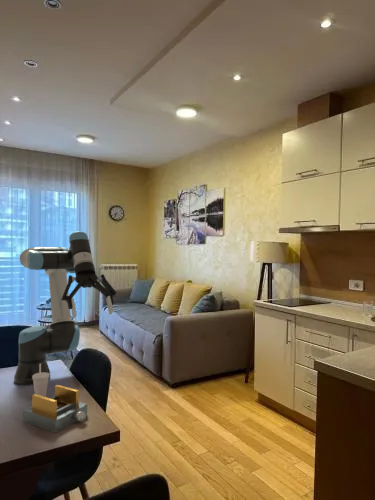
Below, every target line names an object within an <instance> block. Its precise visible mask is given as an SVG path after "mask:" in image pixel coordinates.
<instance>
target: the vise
mask: <svg viewBox="0 0 375 500" xmlns="http://www.w3.org/2000/svg"><path fill="white" fill-rule="evenodd" d="M79 395H80V391H79V390H78V389H75V388H71V387H67V386H63V385H60V384H56V385H55V386H54V396H52V397H47V396H46V397H44V396H40V395H37V394H35V393H34V394H32V395H31V396H32V397H31V398H32V399H31V401H32V402H31V406H29V407H26V408H25V409H24V408H23V415H22V416H23V422H24V423H27V424H30V425H32V426H35V427H38V428H41V429H42V430H47V431H48V432H51V433H55V434H56V433H58V432H60V431H61V430H64V429H65V428H67V427H70V426H71V425H73V424H74V423H76V422H80V423H82V422H84V421H85V420H86V418H87V416H88V404H87V403H84V402H80V400H79V399H80V396H79Z"/></svg>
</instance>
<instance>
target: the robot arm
mask: <svg viewBox="0 0 375 500" xmlns="http://www.w3.org/2000/svg"><path fill="white" fill-rule="evenodd" d="M68 242H69V248H67V247H63V246H34V247H30V248H25V249H24V250H23V251H22V252H21V253H20V256H19V261H20V264H21V265H22V266H23V267H24V268H26V269H29V270H33V271H34V270H35V271H39V270H40V271H41V270H42V271H43V270H44V273H45V275H47V276H48V281H49V283H48V284H49V294H50V305H51V306H50V307H51V318H52V321H51V323H50V324H49V328H48V327H47V326H46V325H35V326H30V327H27V328H24V329H23V330H21V331H20V332H19V335H18V342H17V343H18V363H17V367H16V371H15V374H14V378H13V382H14V383H15V384H17V385H25V386H26V385H34V383H33V379H32V376H33V375H34V374H36V373H39V364H41V372H46V373H49V378H48V380H49V379H50V378H51V370H50V367H49V365H48V361H47V355H50V354H58V353H64V352H65V353H66V352H67V353H68V352H71V351H74V350H76V349H77V348H78V346H79V343H80V336H81V331H80V330H81V328H80V326H79V325H77V324H76V322H75V321H74V319H76V316H77V309H76V304H75V303H76V302H75V299H74V296H75V295H76V294H77V292H79V290H80V289H81V288H83V289H86V288H89V289H90V288H91V289H92V287H93V288H94V289H96V290H97V291H98V292H100V293H101V294H102V295H103V296H105V298H106V299H105V300H106V301H105V302H106V304H107V309H108V310H107V311H108V314H109V315H113V313H114V307H113V305H114V303H115V302H114V297H116V295H117V291H116V290H115V289H114V288H113V286H112V285H111V284H110V282H109V281H108V280H107V279H106V276H105V274H101V275H97V273H96V268H95V263H94V260H93V259H94V258H93V254H92V250H91V243H90V239H89V238H88V233H86V232H84V231H79V230H78V231H74V232H72V233H71V234H70V235H69V236H68ZM68 273H70V274H75V276H72V275H69V276H68V278H67V274H68ZM74 282H76V283H77V284H76V286H75V287H74V289H73V290H72V291H71V292H70V294H69V290H70V288H71V286H72V284H73V283H74ZM71 315H72V316H71Z"/></svg>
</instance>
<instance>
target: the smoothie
mask: <svg viewBox="0 0 375 500" xmlns="http://www.w3.org/2000/svg"><path fill="white" fill-rule="evenodd" d="M48 378H49V373H46V372H41V364H39V373H36V374H34V375H33V376H32V379H33V383H34V384H33V390H34V394H37V395H40V396H44V397H47V392H48V386H49V385H48V384H49V379H50V378H49V379H48Z"/></svg>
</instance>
